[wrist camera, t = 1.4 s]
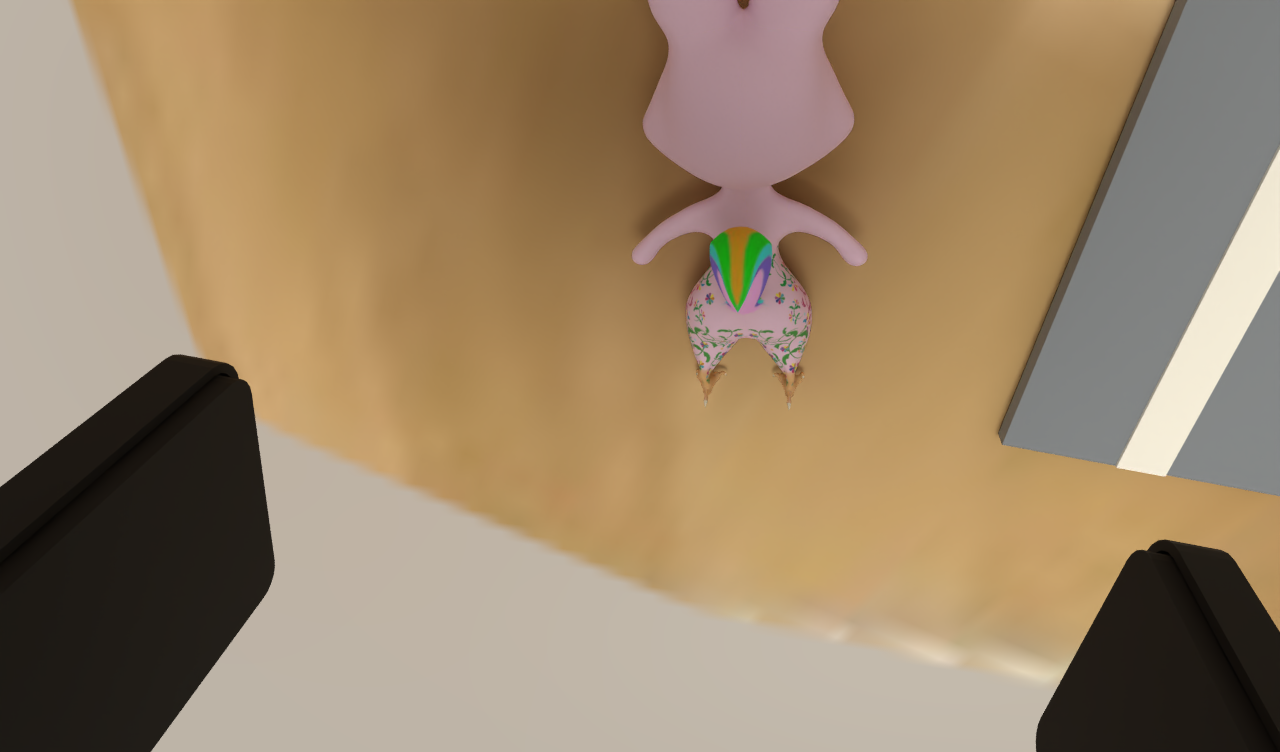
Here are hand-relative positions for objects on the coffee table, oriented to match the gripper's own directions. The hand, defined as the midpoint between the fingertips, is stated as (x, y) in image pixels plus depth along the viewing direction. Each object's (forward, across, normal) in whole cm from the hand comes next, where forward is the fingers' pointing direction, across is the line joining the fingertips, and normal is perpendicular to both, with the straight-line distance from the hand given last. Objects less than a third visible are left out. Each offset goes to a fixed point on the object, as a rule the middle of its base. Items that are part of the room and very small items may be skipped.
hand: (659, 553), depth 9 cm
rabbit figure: (+17, 0, 0) cm, 17 cm away
